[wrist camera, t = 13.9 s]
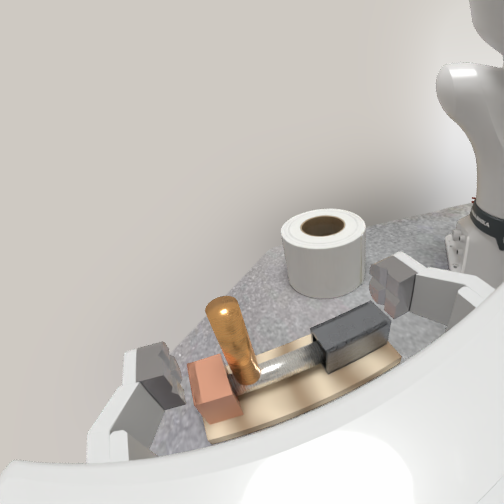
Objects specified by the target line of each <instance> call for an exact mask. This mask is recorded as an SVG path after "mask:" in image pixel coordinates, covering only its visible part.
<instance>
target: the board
mask: <svg viewBox="0 0 504 504" xmlns="http://www.w3.org/2000/svg"><path fill="white" fill-rule="evenodd" d="M310 343H312V340H311V334H310V335H307V336H305V337H302V338H300V339H298V340H295V341H293V342H290V343H288V344H285V345H283V346H280V347H277V348H275V349H272V350H270V351H267V352H264V353H262V354H259V355H256V359H257V362H258V364H260V363H263V362H266V361H268V360H271V359H273V358H276V357H279V356H281V355H284V354H286V353H289V352H291V351H294V350H296V349H299V348H301V347H303V346H306V345H308V344H310ZM401 357H402V356H401V355H400V354H399V353H398V352H397V351H396V350H395V349H394V348H393V346H392V345H391V344H390V343H389V342H388V341H387V344H386V345H384V346H383V347H381V348H379V349H377V350H376V351H374V352H372V353H370V354H368V355H366V356H365V357H363V358H361V359H359V360H357V361H355V362H353V363H351V364H349V365H347V366H345V367H343V368H341V369H339V370H337V371H335V372H333V373H331V374H329V375H328V374H327V373H326V371H325V369H324V368H323V366H322V365H321V364H319V365H316V366H314V367H312V368H309V369H307V370H305V371H302V372H300V373H298V374H295V375H293V376H290V377H288V378H285V379H283V380H280V381H278V382H275V383H273V384H270V385H267V386H265V387H262V388H259V389H256V390H253V391H251V392H248V393H245V394H242V395H239V396H238V399H239V402H240V405H241V408H242V411H243V414H244V415H241V416H238V417H234V418H231V419H228V420H225V421H221V422H218V423H214V424H209V423H208V422H207V421H206V420H205V418H204V417H203V416H202V417H203V422H204V426H205V430H206V434H207V438H208V441H209V442H210V443H211V444H215V443H219V442H223V441H226V440H230V439H233V438H237V437H240V436H243V435H246V434H249V433H252V432H255V431H258V430H261V429H264V428H267V427H270V426H273V425H275V424H278V423H281V422H283V421H286V420H288V419H291V418H293V417H296V416H298V415H301V414H303V413H306V412H308V411H310V410H312V409H315V408H317V407H319V406H321V405H324V404H326V403H328V402H330V401H332V400H334V399H336V398H338V397H340V396H342V395H344V394H346V393H348V392H350V391H352V390H354V389H356V388H358V387H360V386H361V385H363V384H365V383H367V382H369V381H371V380H372V379H374V378H376V377H378V376H379V375H381V374H383V373H384V372H386V371H388V370H389V369H391V368H393V367H394V366H396V365H397V364H399V363H400V361H401ZM226 367H227V369H228V371H229V373H230V374H232V371H231V369H230V367H229V365H227V366H226Z"/></svg>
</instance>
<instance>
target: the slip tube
mask: <svg viewBox="0 0 504 504" xmlns="http://www.w3.org/2000/svg"><path fill="white" fill-rule="evenodd" d="M205 312H206V314H207V317H208V319H209V322H210V324H211V326H212V329H213V331H214V333H215V335H216V338H217V340H218V342H219V345H220V347H221V349H222V351H223V353H224V356H225V358H226V360H227V362H228V364H229V367H230V369H231V371H232V374H229V375H228V378H229V382H230V385H231V388H232V390H233V392H234V394H235V396H239V395H242V394H245V393H248V392H251V391H253V390H256V389H259V388H262V387H265V386H267V385H270V384H273V383H275V382H278V381H280V380H283V379H285V378H288V377H290V376H293V375H295V374H298V373H300V372H302V371H305V370H307V369H309V368H312V367H314V366H316V365H319V364H321V363H323V362H325V361H326V352H325V351H324V350H323V348H322V347H321V345H320V344H319V342H318V341H315V342H313V343H310V344H308V345H306V346H303V347H301V348H299V349H296V350H294V351H291V352H289V353H286V354H284V355H281V356H279V357H276V358H273V359H271V360H268V361H266V362H263V363H260V364H258V362H257V359H256V356H255V353H254V350H253V347H252V344H251V341H250V338H249V335H248V332H247V329H246V326H245V323H244V320H243V317H242V314H241V311H240V308H239V304H238V301H237V300H236V299H235V298H234V297H231V296H222V297H218V298H216V299H214V300H212V301H211V302H210V303H209V304H208V305H207V306H206V309H205Z"/></svg>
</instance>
